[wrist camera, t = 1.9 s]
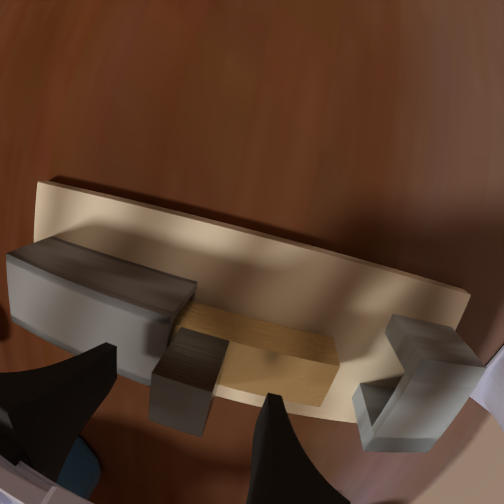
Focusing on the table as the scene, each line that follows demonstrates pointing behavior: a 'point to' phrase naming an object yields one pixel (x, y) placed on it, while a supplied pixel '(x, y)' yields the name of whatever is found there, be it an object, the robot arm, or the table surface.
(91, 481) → the wine bottle
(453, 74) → the table surface
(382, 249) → the table surface
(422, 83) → the table surface
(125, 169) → the table surface
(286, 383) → the tan flat block
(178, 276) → the grey blocks on plank
